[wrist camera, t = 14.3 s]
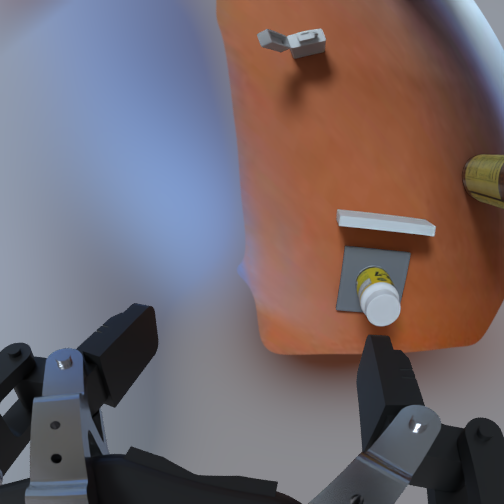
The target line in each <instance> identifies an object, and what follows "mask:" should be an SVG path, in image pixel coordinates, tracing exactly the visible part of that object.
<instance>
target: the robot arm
mask: <svg viewBox="0 0 504 504" xmlns="http://www.w3.org/2000/svg"><path fill="white" fill-rule="evenodd" d="M157 348H158V334H157V326H156V318H155V311H154V308H153V307H152V306H147V305H142V304H137V303H134V304H132V305H131V306H130V307H129V308H128V309H127V310H126V311H125V312H123V313H120V314H118V315H115V316H113V317H111V318H110V319H109V320H107V321H106V322H105V323H104V324H103V326H101V327H100V328H99V329H97V332H94V333H93V334H92V335H91V336H90V337H89V338H88V339H87V340H85V341H84V342H83V343H82V344H81V345H80V346H79V347H78V348H77V349H72V348H64V349H59V350H57V351H55V352H53V353H52V354H50V355H49V356H48V358H42V357H34V356H33V353H32V351H31V348H30V347H29V345H27V344H25V343H14V344H11V345H9V346H7V347H5V348H4V349H3V350H2V351H1V352H0V402H1V401H2V400H3V399H4V398H5V397H6V396H7V395H8V394H9V392H10V391H11V390H12V389H13V388H14V390H15V392H16V394H17V396H18V398H19V399H18V400H17V402H15V403H14V405H13V406H12V407H11V408H10V409H9V410H8V411H7V412H6V414H5V415H4V416H3V417H2V416H1V414H0V504H302V503H300V502H299V501H297V500H295V499H293V498H292V497H290V496H287V495H285V494H283V493H280V492H277V491H276V489H277V484H278V482H276V481H268V480H261V479H254V478H248V477H242V476H203V475H196V474H193V473H191V472H189V471H187V470H186V469H184V468H182V467H180V466H178V465H176V464H174V463H173V462H171V461H169V460H167V459H166V458H164V457H161V456H158V455H154V454H152V453H149V452H146V451H143V450H140V449H137V448H134V447H130V449H129V450H128V452H127V454H126V455H124V454H109V450H108V446H107V440H106V435H105V430H104V423H103V416H102V411H101V408H100V407H101V406H102V405H103V404H107V405H110V406H112V407H116V406H117V404H118V403H119V402H120V400H121V399H122V398H123V396H124V395H125V394H126V392H127V391H128V390H129V388H130V387H131V386H132V384H133V383H134V382H135V380H136V379H137V378H138V376H139V375H140V374H141V372H142V371H143V370H144V368H145V367H146V366H147V364H148V363H149V362H150V360H151V359H152V357H153V356H154V355H155V354H156V351H157ZM357 392H358V402H359V412H360V425H361V438H362V452H361V453H360V454H359V455H358V456H357V457H356V458H355V459H354V460H353V461H352V462H351V464H349V465H348V467H347V468H346V469H345V470H344V471H343V472H342V473H341V474H340V475H339V476H338V477H337V478H335V480H333V481H332V482H331V483H330V484H329V485H328V486H327V487H326V488H325V489H324V490H323V491H322V492H321V493H320V494H318V495H317V496H316V497H315V498H314V499H313V500H312V501H310V502H309V503H308V504H394V503H395V502H396V500H397V499H398V498H399V496H400V495H401V493H402V492H403V491H404V489H405V488H406V487H407V485H408V484H409V485H413V486H419V487H424V488H427V494H428V504H504V437H503V434H502V432H501V429H500V428H499V426H498V425H497V424H496V423H495V422H493V421H491V420H489V419H486V418H475V419H472V420H471V421H470V422H469V423H468V424H467V425H466V427H465V428H459V427H453V426H448V425H444V424H441V421H440V418H439V416H438V415H437V414H436V413H435V412H434V411H433V410H431V409H430V408H428V407H425V405H424V402H423V399H422V396H421V392H420V389H419V386H418V383H417V380H416V379H415V374H414V372H413V371H412V366H411V363H410V360H409V358H408V357H407V356H406V355H405V354H404V353H403V352H402V351H401V350H393V346H392V343H391V340H390V337H389V336H383V335H368V336H367V339H366V342H365V346H364V350H363V354H362V357H361V361H360V364H359V368H358V373H357ZM29 441H30V478H27V479H24V480H20V481H16V482H12V483H8V484H4V485H2V480H3V476H4V475H5V473H6V472H7V470H8V469H9V468H10V466H11V465H12V464H13V462H14V461H15V460H16V458H17V457H18V456H19V454H20V453H21V452H22V450H23V449H24V448H25V446H26V445H27V444H28V443H29Z"/></svg>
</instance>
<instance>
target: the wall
mask: <svg viewBox="0 0 504 504" xmlns="http://www.w3.org/2000/svg"><path fill="white" fill-rule="evenodd" d="M336 219H337V222H338V225H339V226H346V227H356V228H365V229H375V230H384V231H393V232H402V233H410V234H419V235H427V236H434V234H435V228H436V226H434V225H433V224H431V223H430V222H428V221H427V220H425V219H417V218H410V217H402V216H394V215H385V214H376V213H368V212H358V211H349V210H339V209H337V218H336Z"/></svg>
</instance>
